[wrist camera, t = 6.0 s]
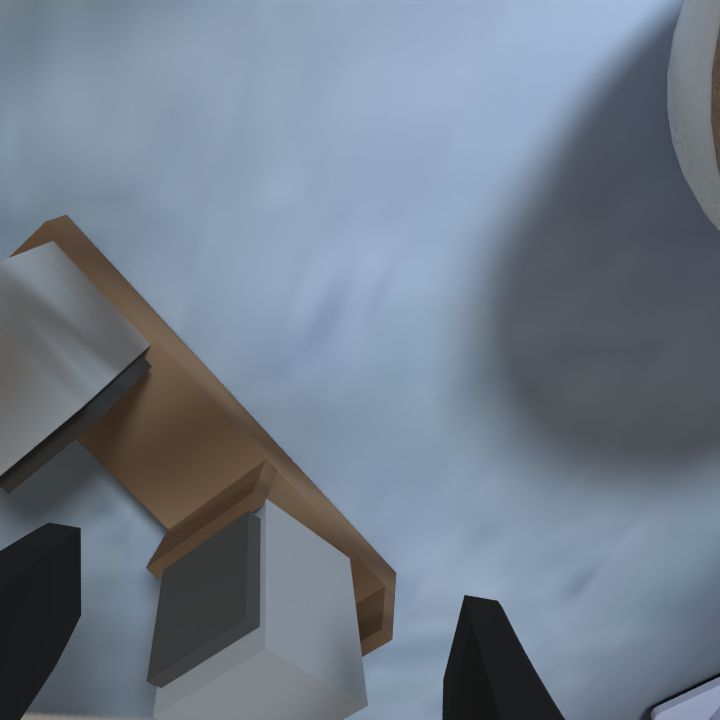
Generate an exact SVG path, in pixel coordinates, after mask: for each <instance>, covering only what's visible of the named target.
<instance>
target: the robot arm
mask: <svg viewBox="0 0 720 720" xmlns="http://www.w3.org/2000/svg"><path fill="white" fill-rule="evenodd" d="M80 616H81V528H77V527H71V526H65V525H60V524H54V523H47V524H45V525H43V526H42V527H40V528H38V529H36V530H35V531H33V532H31V533H29V534H28V535H26V536H24V537H23V538H21V539H19V540H18V541H16V542H14V543H13V544H11V545H9V546H8V547H6V548H4V549H3V550H1V551H0V720H20V719H21V718H22V716H23V715H24V713H25V712H26V710H27V709H28V707H29V706H30V704H31V703H32V701H33V700H34V698H35V697H36V695H37V694H38V692H39V691H40V689H41V688H42V686H43V684H44V683H45V681H46V680H47V678H48V677H49V675H50V674H51V672H52V671H53V669H54V667H55V666H56V664H57V662H58V660H59V658H60V656H61V654H62V652H63V650H64V649H65V647H66V645H67V643H68V641H69V639H70V637H71V635H72V632H73V630H74V628H75V626H76V624H77V622H78V620H79V618H80ZM651 719H652V720H720V677H718V678H716V679H714V680H712V681H710V682H707V683H705V684H703V685H701V686H699V687H697V688H695V689H693V690H691V691H688V692H686V693H684V694H682V695H680V696H678V697H676V698H674V699H671V700H669V701H667V702H665V703H663V704H661V705H659V706H657V707H656V708H654V709H653V710H652V712H651ZM442 720H565V719H564V717H563V716H562V714H561V712H560V711H559V709H558V708H557V706H556V705H555V703H554V701H553V700H552V698H551V696H550V694H549V693H548V691H547V689H546V688H545V686H544V684H543V683H542V681H541V679H540V678H539V676H538V674H537V673H536V671H535V669H534V667H533V665H532V664H531V662H530V660H529V658H528V656H527V655H526V653H525V651H524V649H523V647H522V645H521V643H520V641H519V640H518V638H517V636H516V634H515V632H514V630H513V628H512V626H511V624H510V622H509V620H508V618H507V616H506V614H505V612H504V610H503V608H502V606H501V605H500V603H499V602H498V601H496V600H490V599H484V598H478V597H473V596H467V595H465V596H464V600H463V604H462V608H461V612H460V616H459V620H458V624H457V628H456V632H455V635H454V639H453V643H452V647H451V651H450V655H449V659H448V663H447V667H446V671H445V675H444V679H443V719H442Z"/></svg>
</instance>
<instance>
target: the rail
mask: <svg viewBox="0 0 720 720" xmlns="http://www.w3.org/2000/svg"><path fill="white" fill-rule="evenodd" d="M75 439H77V440H78V441H79V442H80V443H81V444H82V445H83V446H84V447H85V448H86V449H87V450H88V451H89V452H90V453H91V454H92V455H93V456H94V457H95V458H96V459H97V460H98V461H99V462H100V463H101V464H102V465H103V466H104V467H105V468H106V469H107V470H108V471H109V472H111V473H112V474H113V475H114V476H115V477H116V478H117V479H118V480H119V481H120V482H121V483H122V484H123V485H124V486H125V487H126V488H127V489H128V490H129V491H130V492H131V493H132V494H133V495H134V496H135V497H136V498H137V499H138V500H139V501H140V502H141V503H142V504H143V505H144V506H145V507H146V508H147V509H148V510H149V511H150V512H151V513H152V514H153V515H154V516H155V517H156V518H157V519H158V520H159V521H160V522H161V523H162V524H163V525H164V526H165V527H166V528H167V529H168V531H167V533H166V535H165V536H164V538H163V540H162V541H161V543H160V545H159V547H158V548H157V550H156V552H155V553H154V555H153V557H152V558H151V560H150V562H149V564H148V565H147V567H146V568H147V569H148V570H149V571H150V572H151V573H152V574H153V575H154V576H155V577H156V578H157V579H158V578H159V577H161V576H162V575H163V570H164V569H166V568H167V567H168V566H170V565H171V564H173V563H174V562H176V561H177V560H178V559H180V558H181V557H183V556H184V555H186V554H187V553H189V552H190V551H191V550H193V549H194V548H196V547H197V546H199V545H200V544H201V543H203V542H204V541H206V540H207V539H209V538H210V537H211V536H213V535H214V534H216V533H217V532H219V531H220V530H222V529H223V528H224V527H226V526H227V525H229V524H230V523H232V522H233V521H234V520H236V519H237V518H239V517H240V516H242V515H243V514H244V513H246V512H247V511H250V512H252V513H253V512H254V511H256V510H257V509H259V508H260V507H261V506H263V505H264V503H265V501H266V499H268V500H269V501H270V502H272V503H273V504H275V505H276V506H277V507H279V508H280V509H282V510H283V511H284V512H286V513H287V514H289V515H290V516H291V517H293V518H294V519H296V520H297V521H298V522H300V523H301V524H303V525H304V526H305V527H307V528H308V529H310V530H311V531H312V532H314V533H315V534H317V535H318V536H319V537H321V538H322V539H324V540H325V541H326V542H328V543H329V544H331V545H332V546H333V547H335V548H336V549H338V550H339V551H340V552H342V553H343V554H344V555H346V556H347V557H349V558H350V564H351V573H352V581H353V589H354V597H355V605H356V613H357V621H358V629H359V637H360V645H361V653H362V657H363V656H365V655H366V654H368V653H370V652H371V651H373V650H375V649H377V648H378V647H380V646H382V645H384V644H385V643H387V642H389V641H391V640H392V635H393V618H394V601H395V583H396V572H395V571H394V570H393V569H392V568H391V567H390V566H389V565H388V564H387V563H386V562H385V560H384V559H383V558H382V557H381V556H380V555H379V554H378V553H377V552H376V551H375V550H374V549H373V547H372V546H371V545H370V544H369V543H368V542H367V541H366V540H365V539H364V538H363V537H362V535H361V534H360V533H359V532H358V531H357V530H356V529H355V528H354V527H353V526H352V525H351V524H350V522H349V521H348V520H347V519H346V518H345V517H344V516H343V515H342V514H341V513H340V512H339V511H338V509H337V508H336V507H335V506H334V505H333V504H332V503H331V502H330V501H329V500H328V499H327V497H326V496H325V495H324V494H323V493H322V492H321V491H320V490H319V489H318V488H317V487H316V486H315V484H314V483H313V482H312V481H311V480H310V479H309V478H308V477H307V476H306V475H305V474H304V472H303V471H302V470H301V469H300V468H299V467H298V466H297V465H296V464H295V463H294V462H293V461H292V459H291V458H290V457H289V456H288V455H287V454H286V453H285V452H284V451H283V450H282V449H281V448H280V446H279V445H278V444H277V443H276V442H275V441H274V440H273V439H272V438H271V437H270V436H269V434H268V433H267V432H266V431H265V430H264V429H263V428H262V427H261V426H260V425H259V424H258V423H257V421H256V420H255V419H254V418H253V417H252V416H251V415H250V414H249V413H248V412H247V411H246V409H245V408H244V407H243V406H242V405H241V404H240V403H239V402H238V401H237V400H236V399H235V398H234V396H233V395H232V394H231V393H230V392H229V391H228V390H227V389H226V388H225V387H224V386H223V384H222V383H221V382H220V381H219V380H218V379H217V378H216V377H215V376H214V375H213V374H212V373H211V371H210V370H209V369H208V368H207V367H206V366H205V365H204V364H203V363H202V362H201V361H200V360H199V358H198V357H197V356H196V355H195V354H194V353H193V352H192V351H191V350H190V349H189V348H188V346H187V345H186V344H185V343H184V342H183V341H182V340H181V339H180V338H179V337H178V336H177V335H176V333H175V332H174V331H173V330H172V329H171V328H170V327H169V326H168V325H167V324H166V323H165V321H164V320H163V319H162V318H161V317H160V316H159V315H158V314H157V313H156V312H155V311H154V310H153V308H152V307H151V306H150V305H149V304H148V303H147V302H146V301H145V300H144V299H143V298H142V296H141V295H140V294H139V293H138V292H137V291H136V290H135V289H134V288H133V287H132V286H131V285H130V283H129V282H128V281H127V280H126V279H125V278H124V277H123V276H122V275H121V274H120V273H119V272H118V270H117V269H116V268H115V267H114V266H113V265H112V264H111V263H110V262H109V261H108V260H107V258H106V257H105V256H104V255H103V254H102V253H101V252H100V251H99V250H98V249H97V248H96V247H95V245H94V244H93V243H92V242H91V241H90V240H89V239H88V238H87V237H86V236H85V235H84V233H83V232H82V231H81V230H80V229H79V228H78V227H77V226H76V225H75V224H74V223H73V222H72V220H71V219H70V218H69V217H68V216H67V215H64V216H61V217H58V218H55V219H52V220H49V221H46V222H45V223H44V224H43V225H42V226H41V227H40V228H39V229H38V230H37V231H36V232H35V233H34V234H33V235H32V236H31V237H30V238H29V239H28V240H27V241H26V242H25V243H23V244H22V245H21V246H20V247H19V248H18V249H17V250H16V251H15V252H14V253H13V254H12V255H11V256H10V257H9V258H7V259H5V260H2V261H0V486H1V487H2V488H3V489H4V490H5V491H6V492H7V493H8V494H9V493H10V492H11V491H12V490H14V489H15V488H16V487H17V486H18V485H20V484H21V483H22V482H23V481H25V480H26V479H27V478H28V477H29V476H31V475H32V474H33V473H34V472H36V471H37V470H38V469H39V468H40V467H42V466H43V465H44V464H45V463H47V462H48V461H49V460H50V459H51V458H53V457H54V456H55V455H56V454H57V453H59V452H60V451H61V450H62V449H64V448H65V447H66V446H67V445H68V444H70V443H71V442H72V441H73V440H75Z"/></svg>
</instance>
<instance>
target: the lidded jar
mask: <svg viewBox="0 0 720 720" xmlns="http://www.w3.org/2000/svg"><path fill="white" fill-rule="evenodd" d="M667 112H668V118H669V125H670V131H671V137H672V143H673V147H674V150H675V153H676V155H677V158H678V161H679V164H680V167H681V170H682V173H683V176H684V177H685V179H686V181H687V183H688V185H689V186H690V188H691V190H692V192H693V193H694V195H695V197H696V199H697V201H698V202H699V204H700V206H701V208H702V210H703V211H704V213H705V215H706V216H707V217H708V218H709V219H710V221H711V222H712V223H713V224H714V225H715V227H716V228H717V229H718V230H719V231H720V0H684V2H683V5H682V8H681V12H680V15H679V18H678V22H677V25H676V28H675V32H674V35H673V40H672V47H671V53H670V60H669V66H668V73H667Z"/></svg>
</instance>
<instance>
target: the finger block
mask: <svg viewBox="0 0 720 720" xmlns="http://www.w3.org/2000/svg"><path fill="white" fill-rule="evenodd" d="M147 682H149V683H151V684H153V685H156V686H157V690H156V697H155V705H154V712H153V718H155V719H158V720H343V719H344V718H346V717H348V716H350V715H352V714H354V713H355V712H357V711H359V710H361V709H363V708H365V707H366V706H368V701H367V693H366V685H365V677H364V669H363V661H362V653H361V645H360V637H359V629H358V621H357V613H356V605H355V597H354V589H353V581H352V573H351V564H350V558H349V557H347V556H346V555H344V554H343V553H342V552H340V551H339V550H338V549H336V548H335V547H333V546H332V545H331V544H329V543H328V542H326V541H325V540H324V539H322V538H321V537H319V536H318V535H317V534H315V533H314V532H312V531H311V530H310V529H308V528H307V527H305V526H304V525H303V524H301V523H300V522H298V521H297V520H296V519H294V518H293V517H291V516H290V515H289V514H287V513H286V512H284V511H283V510H282V509H280V508H279V507H277V506H276V505H275V504H273V503H272V502H270V501H269V500H268V499H266V501H265V503H264V505H263V506H261V507H260V508H259V509H257V510H256V511H254V512H253V513H252V512H250V511H247V512H246V513H244V514H243V515H242V516H240V517H239V518H237V519H236V520H234V521H233V522H232V523H230V524H229V525H227V526H226V527H224V528H223V529H222V530H220V531H219V532H217V533H216V534H214V535H213V536H211V537H210V538H209V539H207V540H206V541H204V542H203V543H201V544H200V545H199V546H197V547H196V548H194V549H193V550H191V551H190V552H189V553H187V554H186V555H184V556H183V557H181V558H180V559H178V560H177V561H176V562H174V563H173V564H171V565H170V566H168V567H167V568H166V569H164V570H163V576H162V583H161V590H160V596H159V603H158V610H157V616H156V623H155V630H154V637H153V643H152V650H151V657H150V663H149V670H148V677H147Z"/></svg>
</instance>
